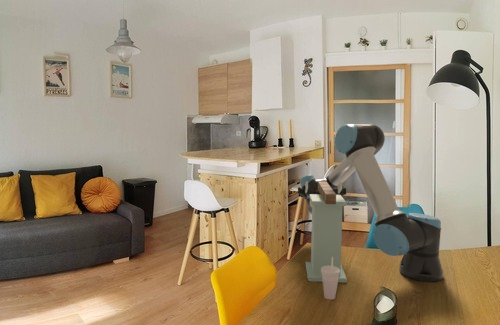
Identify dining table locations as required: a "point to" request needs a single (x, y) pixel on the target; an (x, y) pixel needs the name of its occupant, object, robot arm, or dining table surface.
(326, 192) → the walnut bar
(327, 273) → the smoothie
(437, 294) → the dining table surface
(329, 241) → the stand
